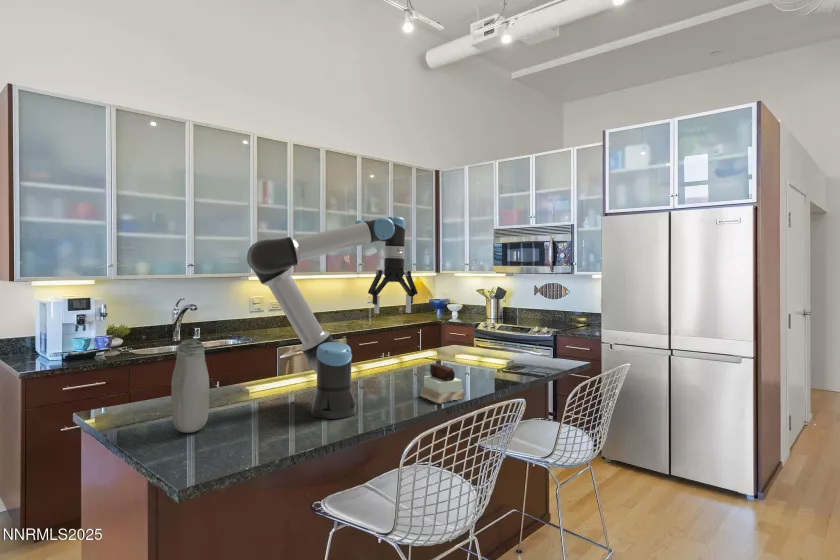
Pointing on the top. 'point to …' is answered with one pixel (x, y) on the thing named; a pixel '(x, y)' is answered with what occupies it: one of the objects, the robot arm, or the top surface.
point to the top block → (442, 384)
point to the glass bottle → (190, 387)
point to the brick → (442, 372)
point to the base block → (441, 395)
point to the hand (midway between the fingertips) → (392, 313)
